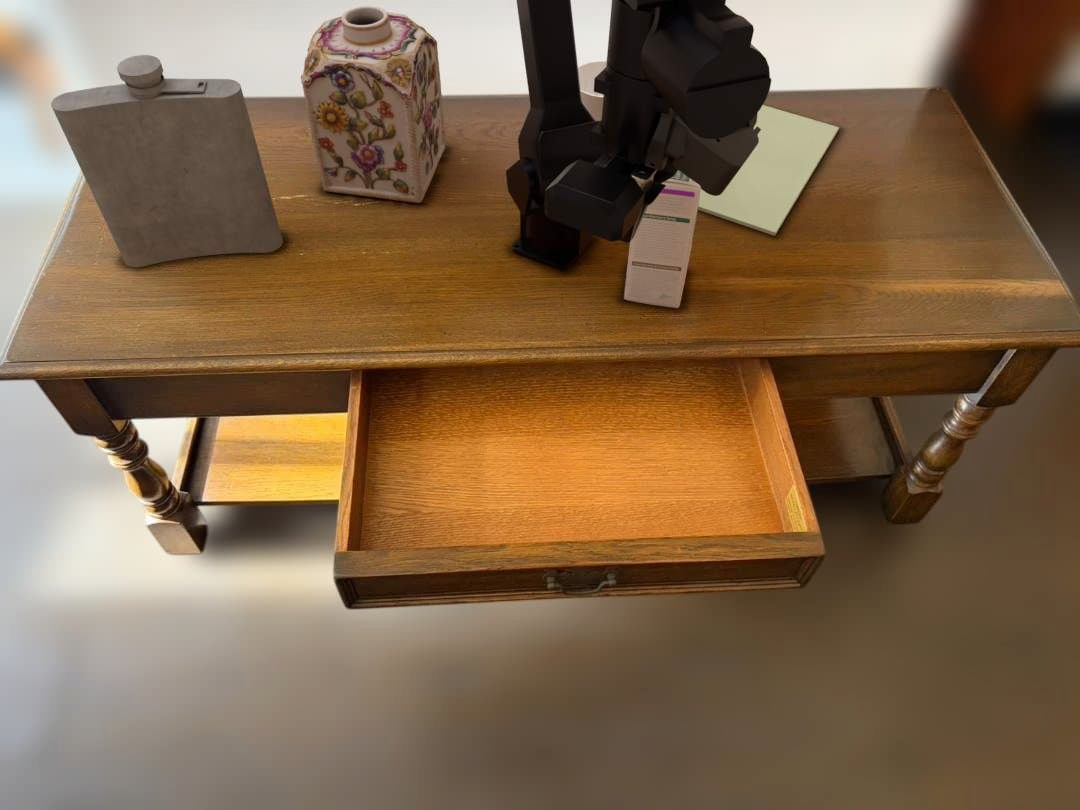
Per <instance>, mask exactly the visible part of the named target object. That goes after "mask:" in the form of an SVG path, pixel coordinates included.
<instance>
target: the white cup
mask: <svg viewBox="0 0 1080 810" xmlns="http://www.w3.org/2000/svg"><path fill="white" fill-rule="evenodd" d="M606 63H607V59H605V60H603V59H602V60H600V59H599V60H592V61H588V62H584V63H581V64H578V74H579V83H580V93H581V100H582V103H583V105H584V106H585V107H586V109H587V110H588V111H589V113H590V114H591V115H592V117H593V118H594V119H595V121H601V120H602V109H603V98H604V95H603V94H600V93H596V92H594V80H595V77H596V76H597V75H598V74H599V73H601V72H602V71H603V70H604V69H605V68H606Z"/></svg>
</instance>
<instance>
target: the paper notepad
mask: <svg viewBox="0 0 1080 810" xmlns="http://www.w3.org/2000/svg"><path fill="white" fill-rule="evenodd" d="M756 127H759V128H760V129H761V131H760V132H759V133H758V138H759V142H758V144H757V146H756V147H755V149H754V150H753V152H752V153H751V154H750V156H749V157H748V159H747V160H746V161H745V163H744V164H743V166H742V167H741V168H740V170H739V171H738V172H737V174H736V175H735V176H734V178H733V179H732V181H731V182H730V183H729V185H728V186H727V187H726V189H725V190H724V191H723V193H722V194H721V195H719V196H713V195H710V194H708V193H706V192H705V191H703V190H702V189H701V192H700V199H699V206H698V211H700V212H703V213H707V214H709V215H712V216H715V217H718V218H721V219H724V220H726V221H729V222H732V223H735V224H738V225H741V226H744V227H747V228H750V229H752V230H756V231H759V232H762V233H765V234H766V235H767V234H768V235H770V236H773V237H775V236H776V235H777V234H778V231H779V230H780V228H781V227H782V225H783V224H784V222H785V220H786V218H787V217H788V215H789V213H790V211H791V210H792V209H793V207H794V205H795V203H796V202H797V200H798V199H799V197H800V195H801V193H802V192H803V190H804V189H805V187H806V185H807V183H808V182H809V180H810V178H811V177H812V175H813V174H814V172H815V170H816V168H817V167H818V165H819V164H820V162H821V160H822V158H823V157H824V155H825V154H826V152H827V150H828V149H829V147H830V145H831V143H832V142H833V140H834V138H835V137H836V135H837V134H838V132H839V130H840V127H839V126H836V125H832V124H829V123H826V122H822V121H819V120H815V119H812V118H809V117H806V116H802V115H799V114H795V113H791V112H788V111H785V110H782V109H778V108H775V107H771V106H768V105H764V104H763V105H762V107H761V109H760V110H759V111H758V115H757V122H756V124H755V126H754V129H755V128H756Z"/></svg>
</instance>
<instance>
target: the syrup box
mask: <svg viewBox="0 0 1080 810" xmlns="http://www.w3.org/2000/svg"><path fill="white" fill-rule="evenodd" d="M661 184H664V185H666V186H665V188H664V189H663V190H662V192H661V193H660V194H659V195H658V197H657V198H656V199H655V200H654V202H653V203H652V204H650V205H649V206H648V207H647V209H646V211H645V213H644V216H643V218H642V220H641V222H640V225H639V227H638V229H637V231H636V233H635V236H634V238H633V239H632V240H631V242H630V243H629V247H628V257H627V264H626V273H625V283H624V293H623V299H624V300H626V301H629V302H634V303H640V304H645V305H651V306H652V305H653V306H659V307H667V308H674V309H679V308H680V305H681V301H682V297H683V292H684V286H685V281H686V277H687V272H688V267H689V261H690V256H691V251H692V246H693V241H694V237H695V236H694V235H695V230H696V225H697V219H698V213H699V210H698V206H699V199H700V192H701V187H700V185H699V184H697V183H696V182H694V181H693V180H692V179H690V178H689V177H687V176H686V175H685V174H683V173H682V172H680V171H679V170H678V171H677V172H676V174H675V175H674V176H673V177H672V178H670V179H668V180H667V181H665V182H663V183H661Z"/></svg>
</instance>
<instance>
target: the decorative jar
mask: <svg viewBox="0 0 1080 810" xmlns="http://www.w3.org/2000/svg"><path fill="white" fill-rule="evenodd" d="M300 79H301V81H300V82H301V84H302V90H303V91H302V92H303V95H304V101H305V102H304V103H305V107H306V113H307V119H308V123H309V129H310V135H311V139H312V144H313V149H314V153H315V158H316V163H317V166H318V171H319V176H320V179H321V185H322V189H323V191H325V192H330V193H337V194H347V195H353V196H359V197H360V196H362V197H370V198H376V199H377V198H378V199H384V200H392V201H400V202H407V203H415V204H420V203H422V202H423V200H424V198H425V196H426V193H427V191H428V189H429V187H430V184H431V182H432V180H433V177H434V175H435V173H436V170H437V168H438V165H439V163H440V160H441V158H442V156H443V153H444V151H445V149H446V129H445V118H444V117H445V116H444V105H443V95H442V82H441V72H440V62H439V50H438V40H436V38H435V37H434V36H433V35H431V34H430V32H428V31H427V30H426V29H425V27H423V26H421V25H419V24H418V23H416V22H415V21H414V20H412V19H411V18H409V17H408V16H407V15H406V14H403V13H398V12H397V13H396V12H395V13H394V12H389V11H387V10H386V9H384V8H382V7H379V6H371V5H362V6H357V7H353V8H350V9H349V10H347V11H345V12H343V13H342V15H340V16H338V17H335V18H331V19H329V20H325V21H324V22H322V24H321V25H320V26H319V27H318V28H317V29H316V30H315V32H314V33H313V34H312V37H311V39H310V41H309V45H308V48H307V55H306V57H305V59H304V65H303V72H302V74H301V75H300Z"/></svg>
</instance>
